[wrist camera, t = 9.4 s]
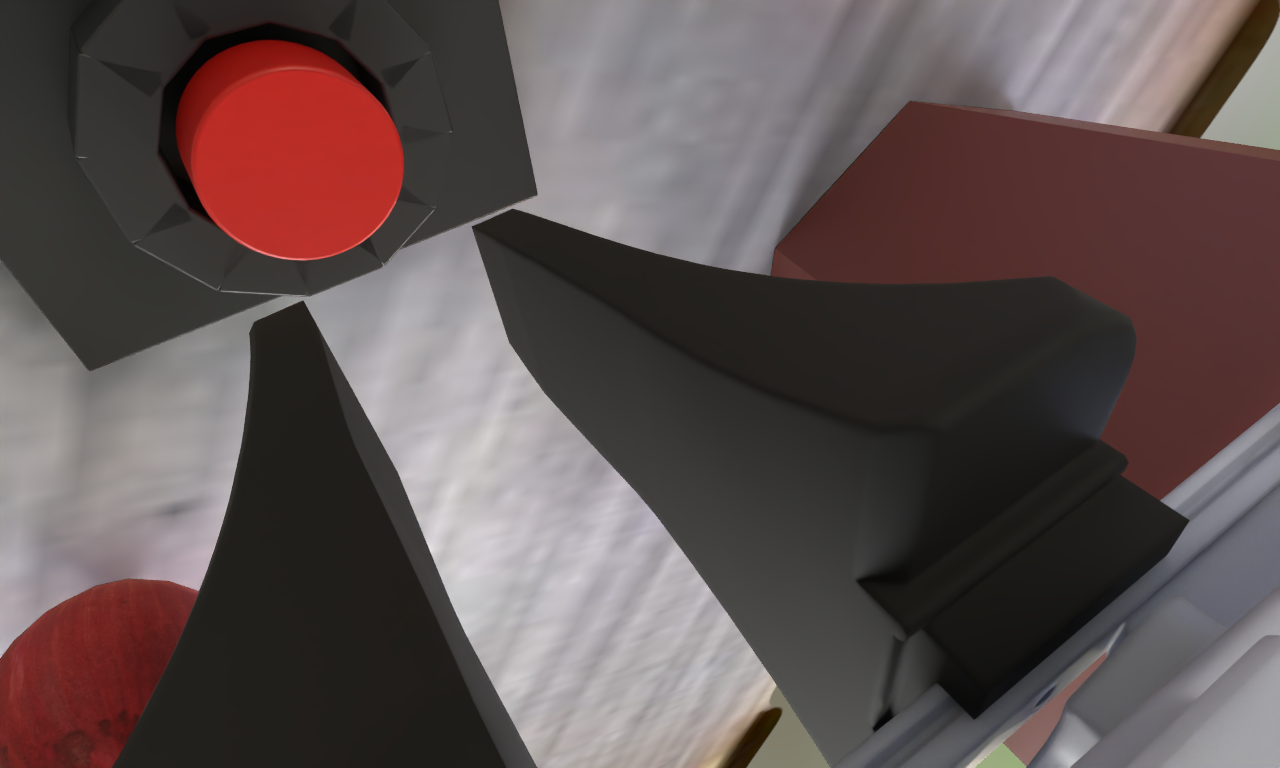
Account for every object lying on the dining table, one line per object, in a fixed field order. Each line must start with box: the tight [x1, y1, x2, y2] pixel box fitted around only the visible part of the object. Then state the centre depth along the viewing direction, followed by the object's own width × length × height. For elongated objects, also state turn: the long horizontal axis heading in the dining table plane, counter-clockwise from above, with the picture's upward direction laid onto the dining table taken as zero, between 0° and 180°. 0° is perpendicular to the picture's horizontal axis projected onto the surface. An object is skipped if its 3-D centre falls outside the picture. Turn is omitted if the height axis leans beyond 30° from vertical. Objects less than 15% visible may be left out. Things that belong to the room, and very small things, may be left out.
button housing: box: [0, 0, 538, 371], centre depth 16 cm, size 11×8×4 cm
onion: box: [0, 579, 199, 768], centre depth 20 cm, size 6×6×8 cm
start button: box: [176, 40, 404, 260], centre depth 14 cm, size 4×4×2 cm
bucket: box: [771, 101, 1280, 766], centre depth 28 cm, size 24×22×25 cm
